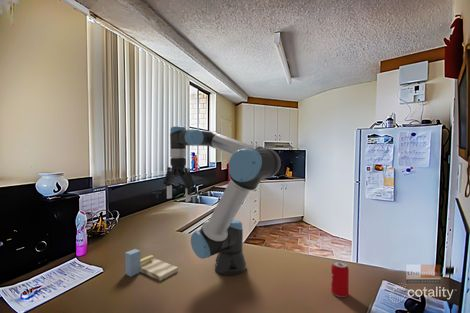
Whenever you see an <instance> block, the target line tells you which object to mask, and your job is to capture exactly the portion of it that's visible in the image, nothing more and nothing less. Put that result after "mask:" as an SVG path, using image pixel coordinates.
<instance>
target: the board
mask: <svg viewBox="0 0 470 313" xmlns="http://www.w3.org/2000/svg"><path fill="white" fill-rule="evenodd" d="M140 266H141V272H140V273H142V274H145V275H147V276H148V277H150V278H153V279H155V280H158V281H159V282H161V281H163V280H165V279H167V278H169V277H171V276H172V275H175V274H176V273H178V272H179V268H178V266H176V265H172V264H170V263H168V262H165V261H163V260H160V259H157V258H155V257H154V259H152V260H151V261H148V262H145V263H143V264H141V265H140Z"/></svg>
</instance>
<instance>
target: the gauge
mask: <svg viewBox="0 0 470 313" xmlns="http://www.w3.org/2000/svg"><path fill="white" fill-rule="evenodd" d="M124 257H125V261H124V262H125V263H124V264H125V275H126V276H129V277H130V278H131V277H133V276H135V275H138V274H140V273H142V272H141V266H140V265H141V264H143V263H145V262H148V261H151V260H152V259H154V258H155V257H154V255H152V254H150V255H148V256H145V257H143V258H141V250H139V249H137V248H134V249H131V250H128V251H126V252H125V256H124Z"/></svg>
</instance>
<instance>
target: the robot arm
mask: <svg viewBox="0 0 470 313" xmlns="http://www.w3.org/2000/svg"><path fill="white" fill-rule="evenodd" d="M169 137H170V140H169V141H170V142H169V143H170V144H169V145H170V152H169V153H170V157H171V158H170V166H167V168H166V173H165V176H164V179H163V183H162V184H163V185H165V186H166V187H165V188H166V199H172V198H173V186H172V183H173V182H174V180H175V178H176V177H179V178H180V179H181V180H182V182H183V183H184V185H185V203H188V202H191V200H192V198H191V197H192V196H191V195H192V188H195V187H196V185H195V182H194V180H193V176H192V174H191V168H190V167H185V166H186V165H187V159H186V155H187V154H186V153H187V146H192V147H193V146H195V147H197V146H198V147H199V146H200V147H201V146H202V147H211V148H213V149H216V150H218V151H220V152H223V153H225V154H228V155H229V156H231V157H230V159H229V161H228V167H229V168H228V176H229V179H230V180H229V182H228V184H227V186H226V188H224V191H223V193H222V195H221V197H220V199H219V201H218V203H217V205H216V206H215V208H214V210H213V212H212V214H211V216H210V218H209V219H207V220H205V221H204V222H203V224H202V225H201V228H200V229H199V230H195V231H194V232H192V234H191V236H190V245H191V248H192V251H193V254H195V256H196V257H197V258H198V259H201V260H202V259H203V260H204V259H207V258H210V257H212V256H215V255H216V258H215V262H214V270H215V271H216V272H217V273H218V274H220V275H223V276H237V275H240V274H242V273H244V272H245V271H246V269H247V262H246V259H245V255H244V252H243V245H244V244H243V239H244V238H243V236H244V235H243V234H244V232H243V230H244V229H243V223H242V221H240V220H239V219H235V217H236V215H237V213H238V212H239V210H240V209H241V207H242V206H243V204H244V202H245V200H246V198H247V196H248V195H249V193H250V191H255V190H256V189H257V187H258V186H259V184H260V182H261V181H262V180H263V179H269V178H272V177H274V176H275V175H276V174H278V172H279V170H281V163H282V162H281V158H280V156H279V154H278V153H277V152H276V151H274V149H271V148H267V147H263V146H253V145H251V144H248V143H246V142H244V141H239V140H237V139H236V138H235V139H234V138H232V137H228V136H226V135H223V134H222V133H221V132H220V131H216V130H215V131H212V130H211V131H210V130H200V129H198V128H195V129H194V128H192V129H191V128H190V129H186V127H185V126H179V125H178V126H171V127H170V133H169Z"/></svg>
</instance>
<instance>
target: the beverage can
mask: <svg viewBox="0 0 470 313" xmlns="http://www.w3.org/2000/svg"><path fill="white" fill-rule="evenodd" d="M349 270H350V269H349V266H348V264H347V263H346V262H344V261H341V260H334V261H333V262H332V265H331V270H330V271H331V273H330V275H331V279H330V280H331V283H330V285H331V288H330V289H331V290H330V291H331V293H332V294H333V295H334V296H336V297H338V298H346V297H348V296H349V288H350V287H349V285H350V284H349V281H350V280H349V279H350V278H349V275H350V274H349V273H350V272H349Z"/></svg>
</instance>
